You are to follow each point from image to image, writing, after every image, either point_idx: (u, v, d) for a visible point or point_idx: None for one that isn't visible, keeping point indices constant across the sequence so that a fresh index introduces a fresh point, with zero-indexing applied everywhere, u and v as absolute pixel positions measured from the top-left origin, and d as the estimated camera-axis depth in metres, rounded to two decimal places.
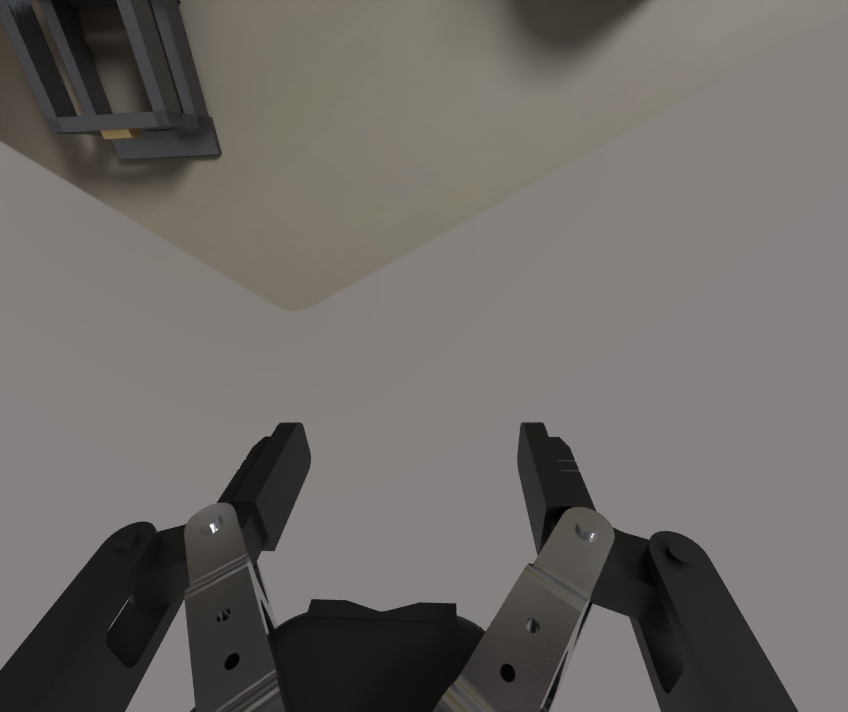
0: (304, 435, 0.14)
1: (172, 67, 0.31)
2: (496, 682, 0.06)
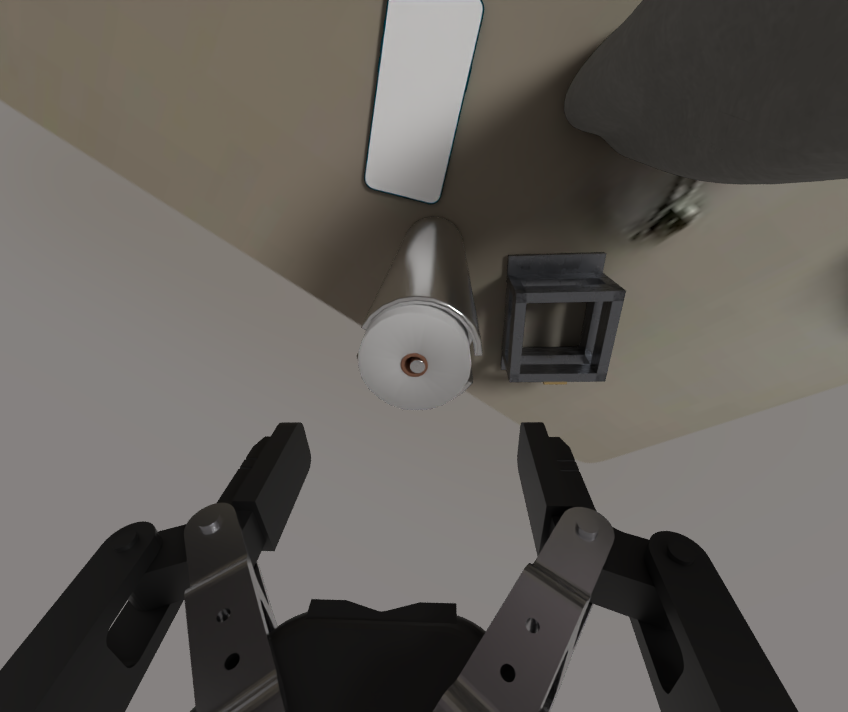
0: (304, 435, 0.14)
1: (591, 328, 0.41)
2: (496, 682, 0.06)
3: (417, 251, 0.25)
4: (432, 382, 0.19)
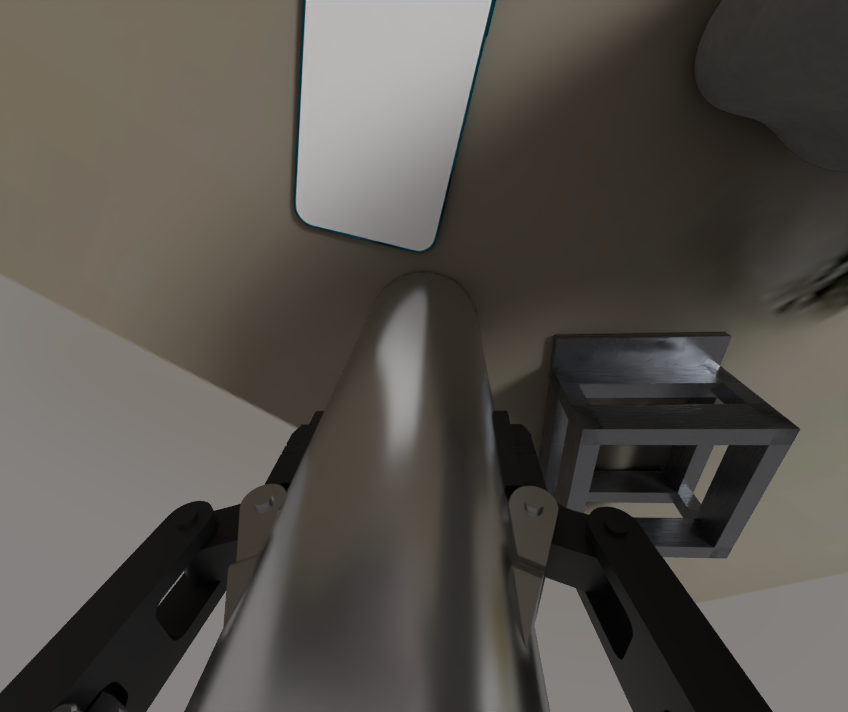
0: None
1: (695, 457, 0.24)
2: None
3: (361, 461, 0.08)
4: None
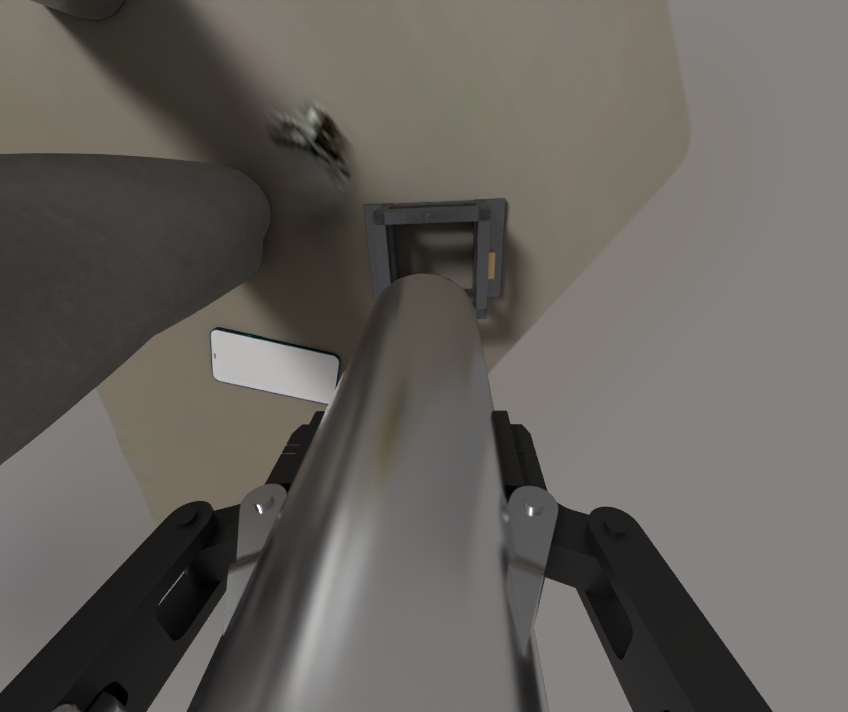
0: None
1: None
2: None
3: (361, 463, 0.09)
4: None
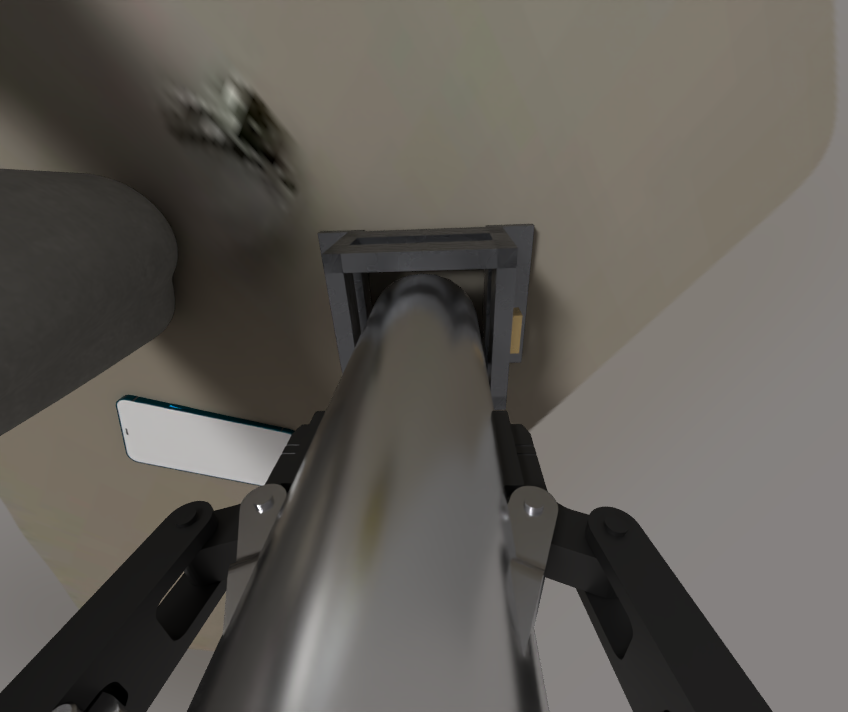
0: None
1: None
2: None
3: (361, 463, 0.09)
4: None
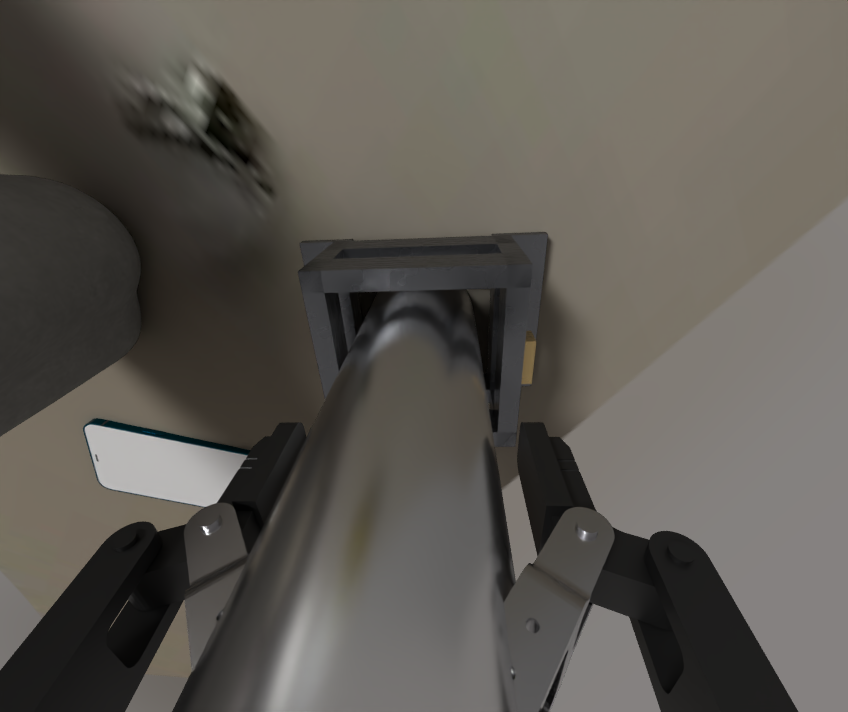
0: (304, 435, 0.14)
1: None
2: None
3: (361, 434, 0.09)
4: None
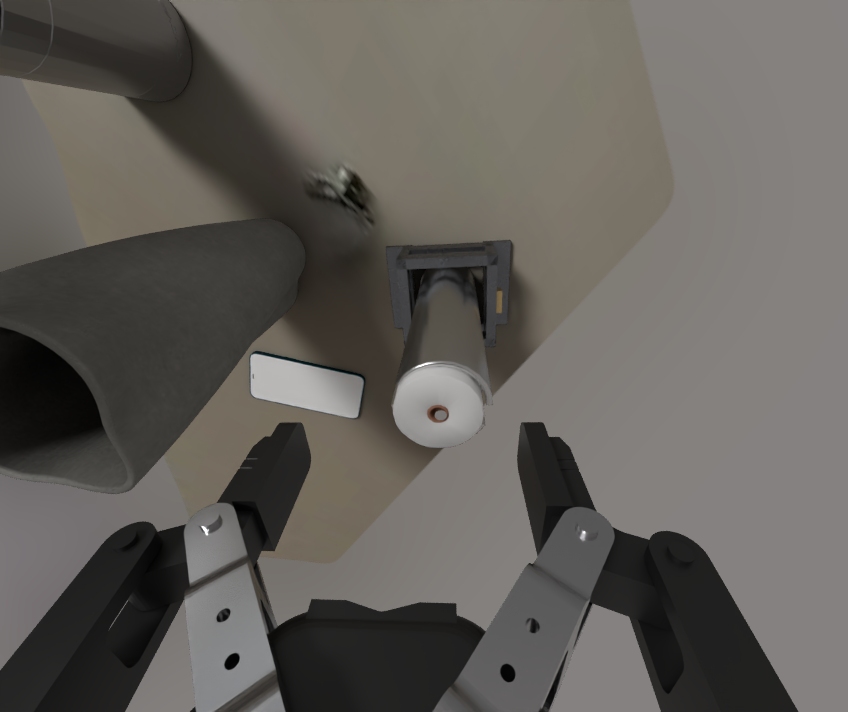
0: (304, 435, 0.14)
1: None
2: (496, 682, 0.06)
3: (436, 306, 0.30)
4: (452, 427, 0.23)
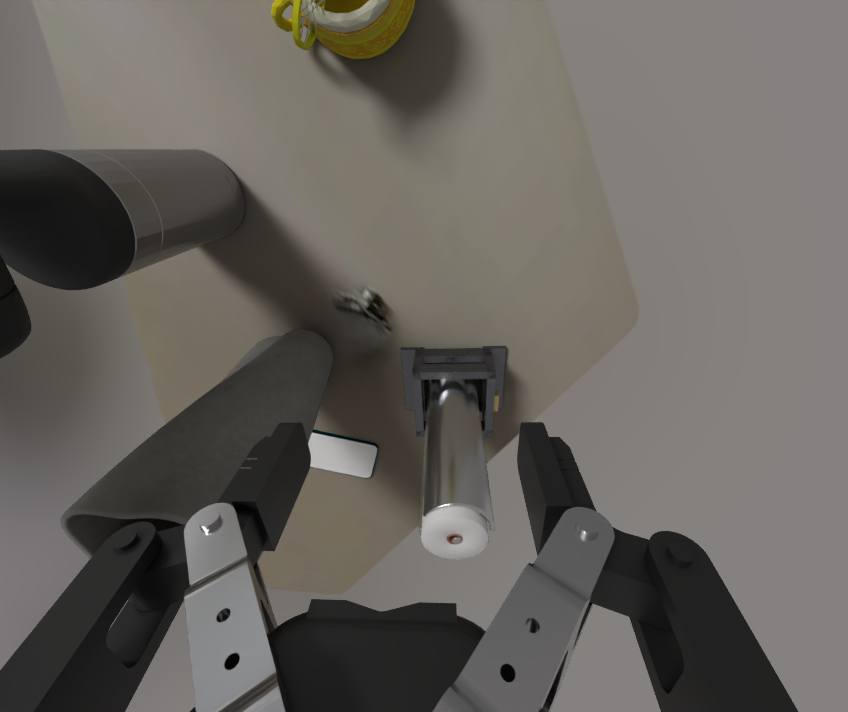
0: (304, 435, 0.14)
1: (458, 361, 0.48)
2: (496, 682, 0.06)
3: (449, 430, 0.38)
4: (465, 547, 0.31)
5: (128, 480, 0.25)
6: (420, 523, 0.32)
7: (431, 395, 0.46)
